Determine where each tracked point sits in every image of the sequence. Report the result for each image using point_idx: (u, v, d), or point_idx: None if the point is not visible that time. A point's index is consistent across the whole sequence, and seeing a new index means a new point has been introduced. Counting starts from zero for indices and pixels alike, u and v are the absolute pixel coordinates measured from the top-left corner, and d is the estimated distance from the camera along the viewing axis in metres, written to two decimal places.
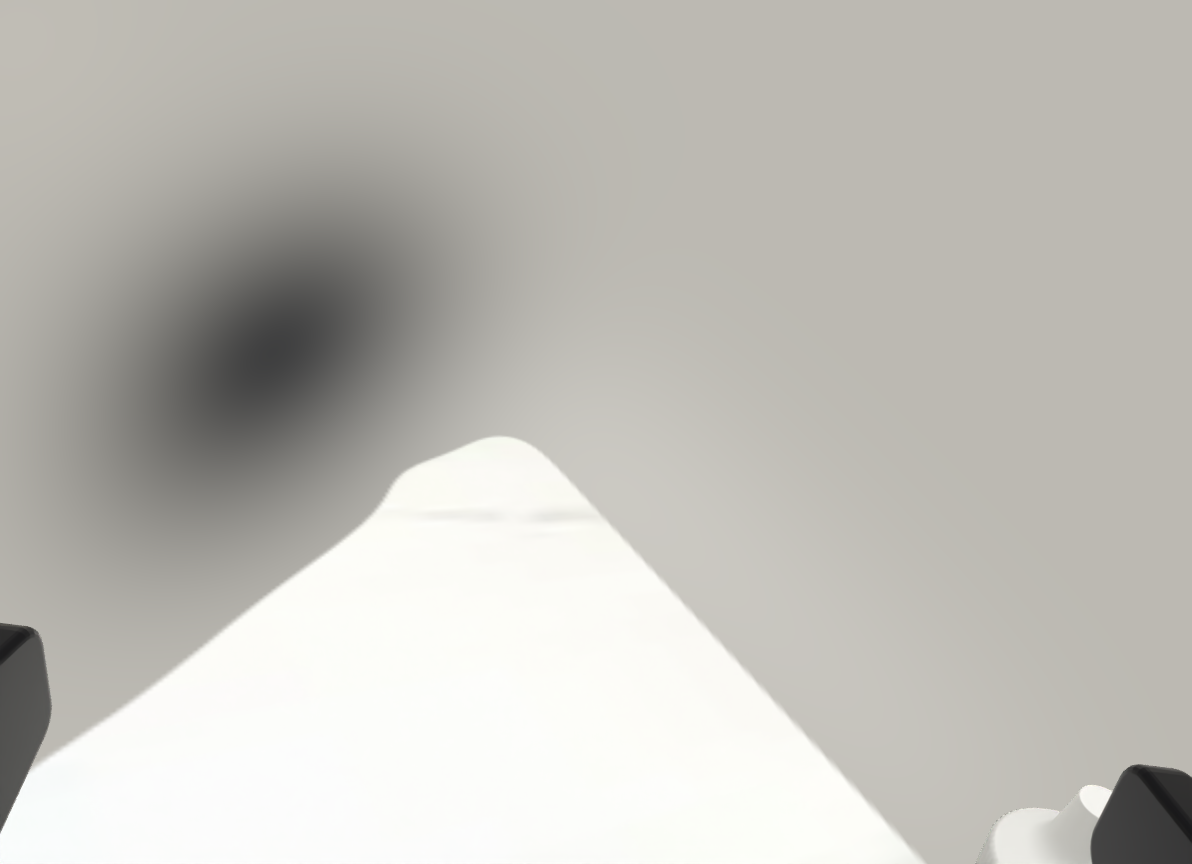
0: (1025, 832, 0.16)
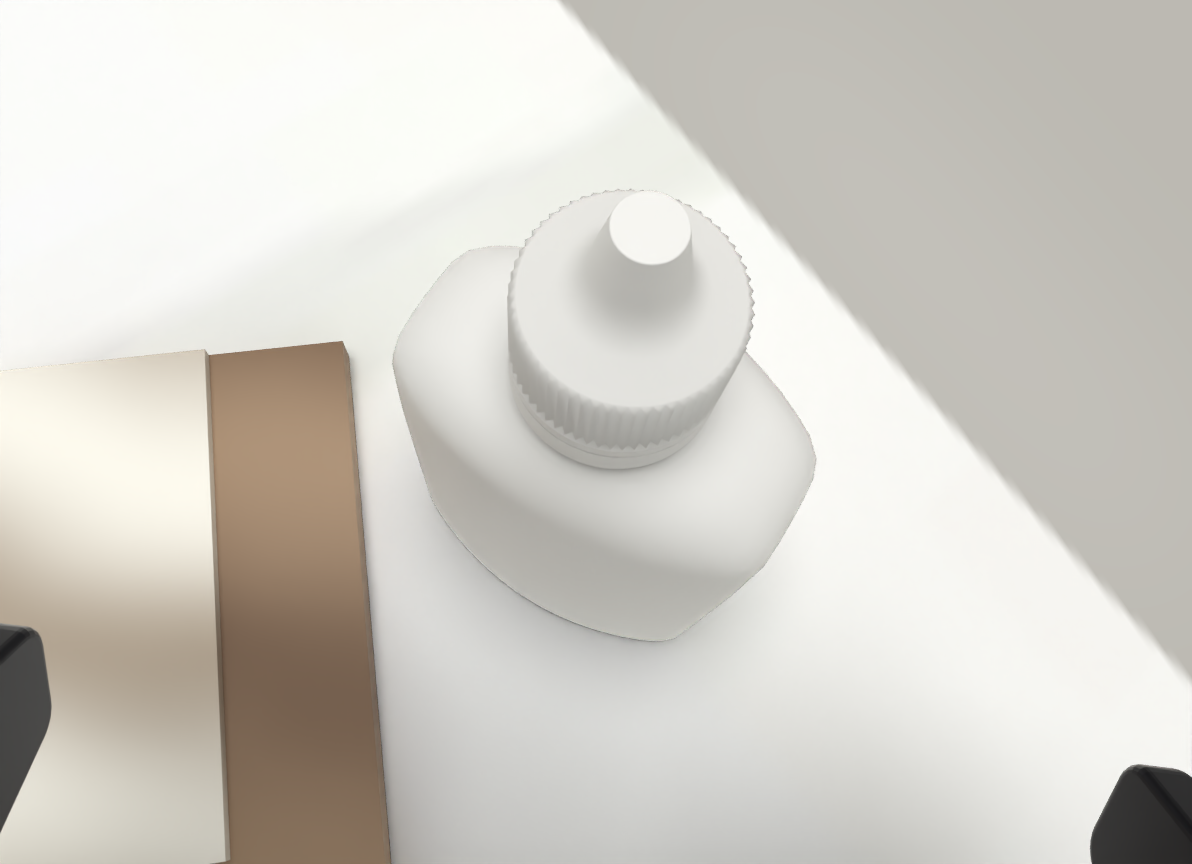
0: (561, 255, 0.10)
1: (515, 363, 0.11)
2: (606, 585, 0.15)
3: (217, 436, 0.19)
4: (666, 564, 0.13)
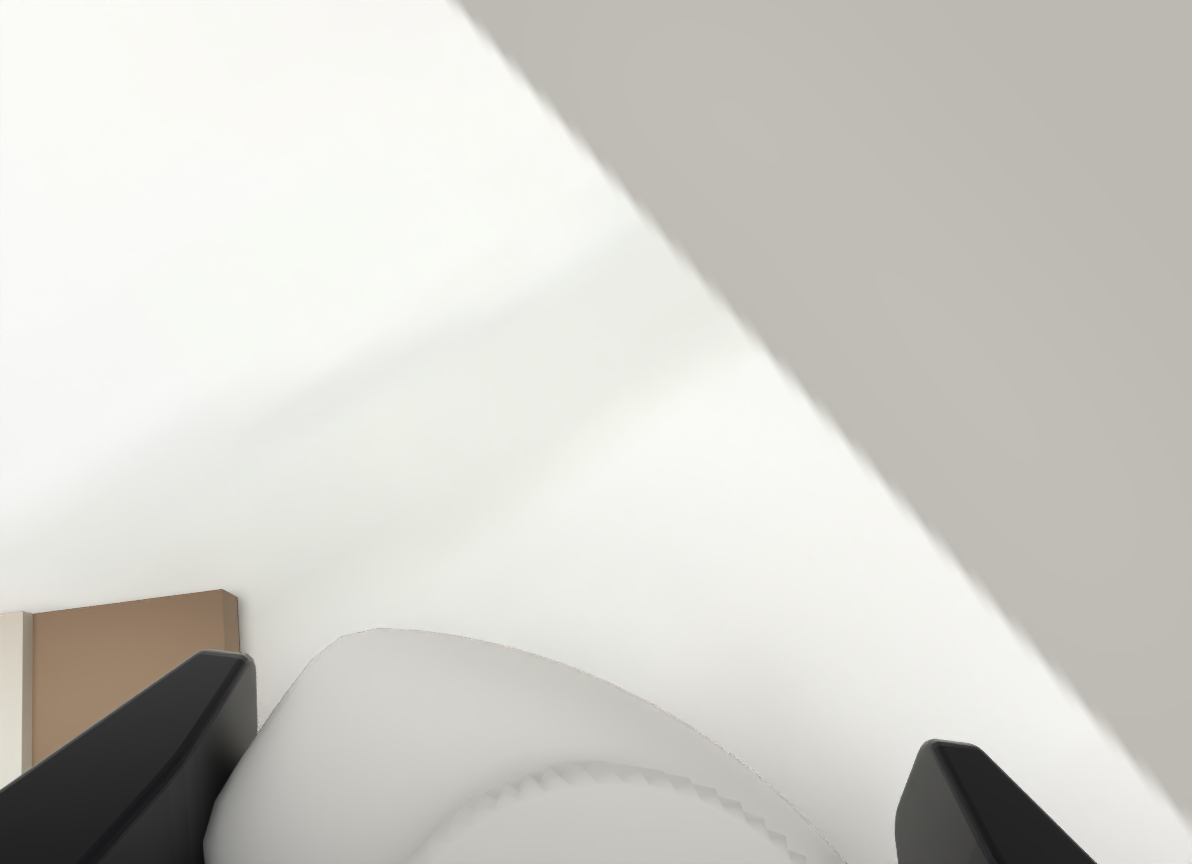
0: None
1: None
2: None
3: (39, 736, 0.14)
4: None
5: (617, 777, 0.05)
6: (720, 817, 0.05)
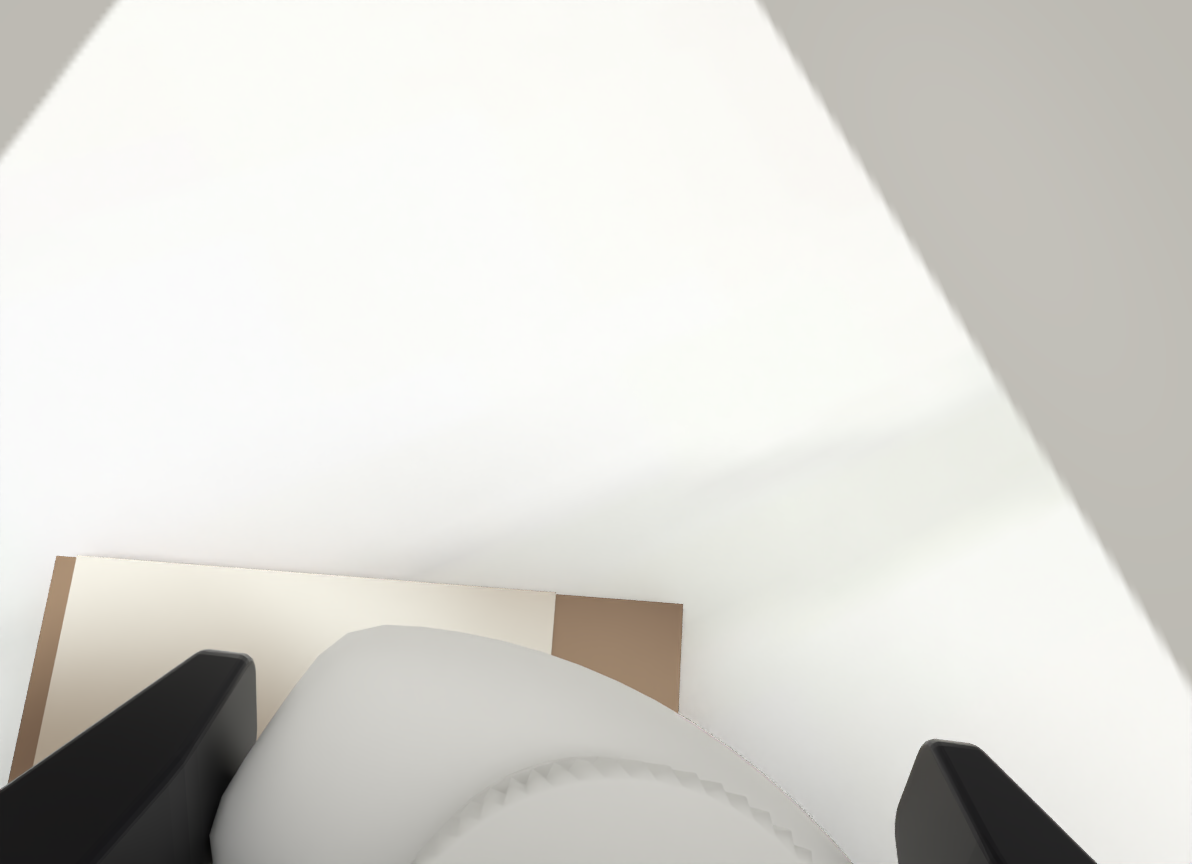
0: None
1: None
2: None
3: None
4: None
5: (625, 771, 0.05)
6: (727, 811, 0.05)
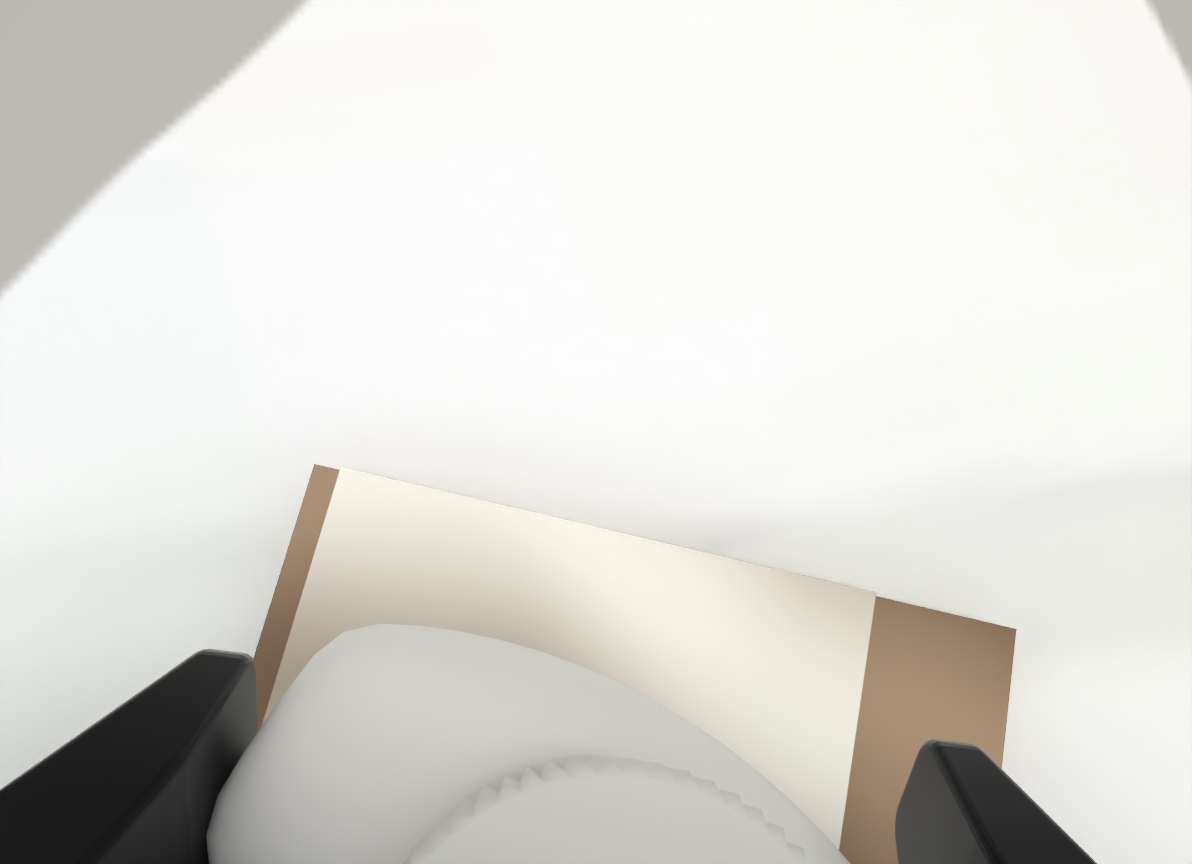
0: None
1: None
2: None
3: None
4: None
5: (617, 769, 0.05)
6: (719, 809, 0.05)
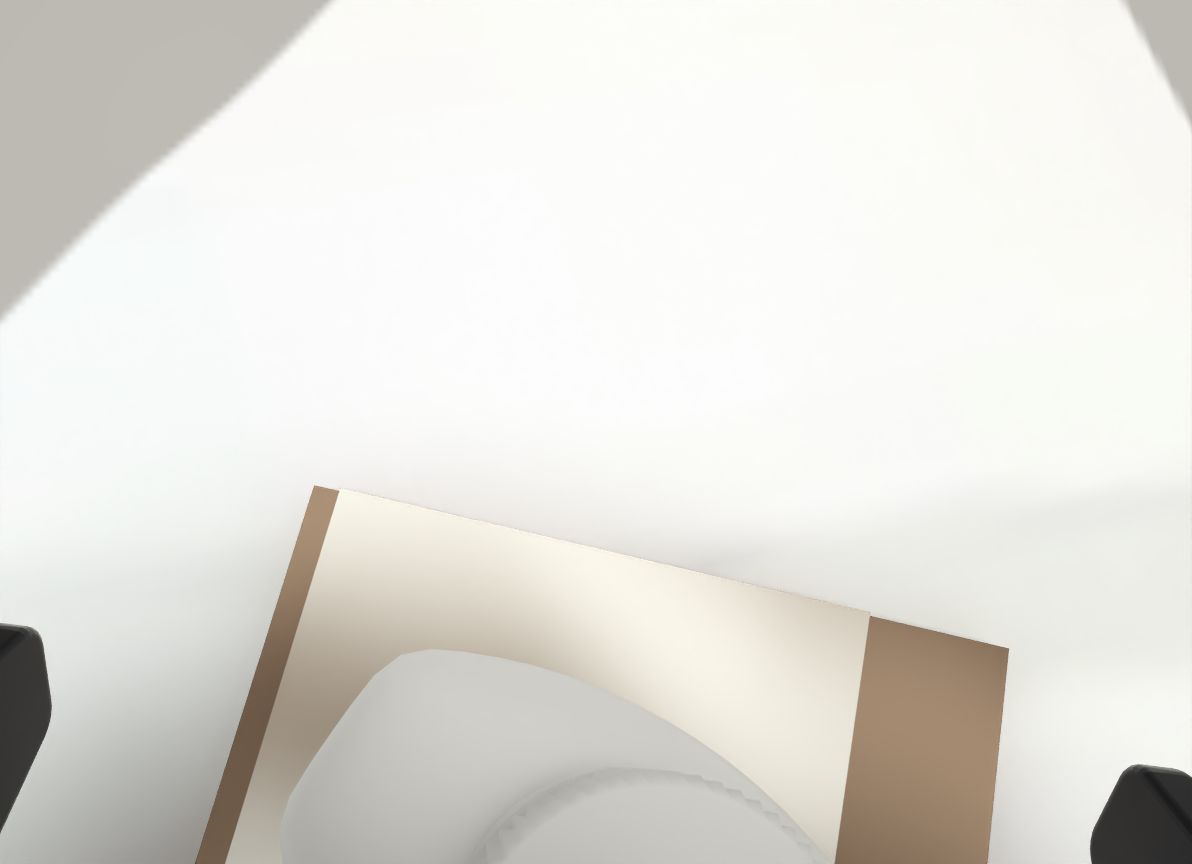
0: None
1: None
2: None
3: None
4: None
5: (667, 779, 0.06)
6: (746, 812, 0.06)
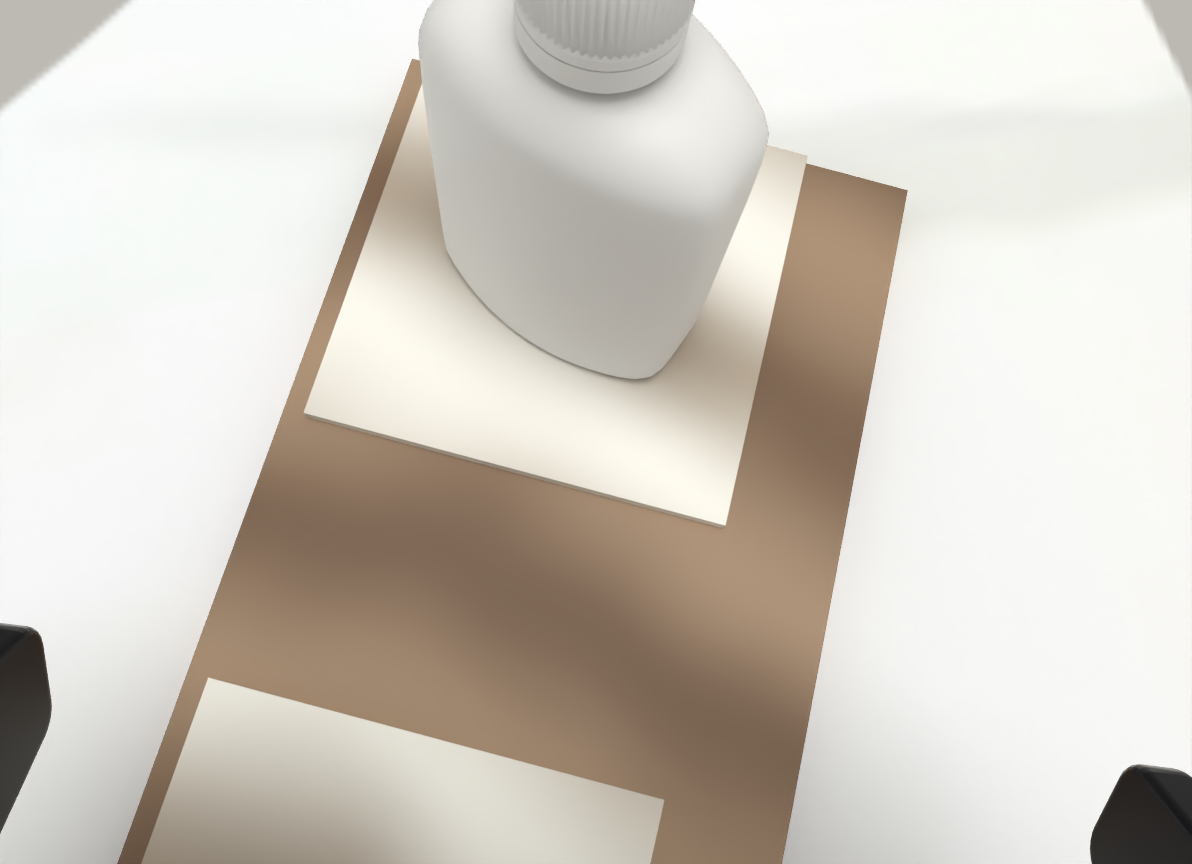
0: None
1: None
2: (589, 257, 0.17)
3: (794, 224, 0.24)
4: (637, 199, 0.15)
5: None
6: None
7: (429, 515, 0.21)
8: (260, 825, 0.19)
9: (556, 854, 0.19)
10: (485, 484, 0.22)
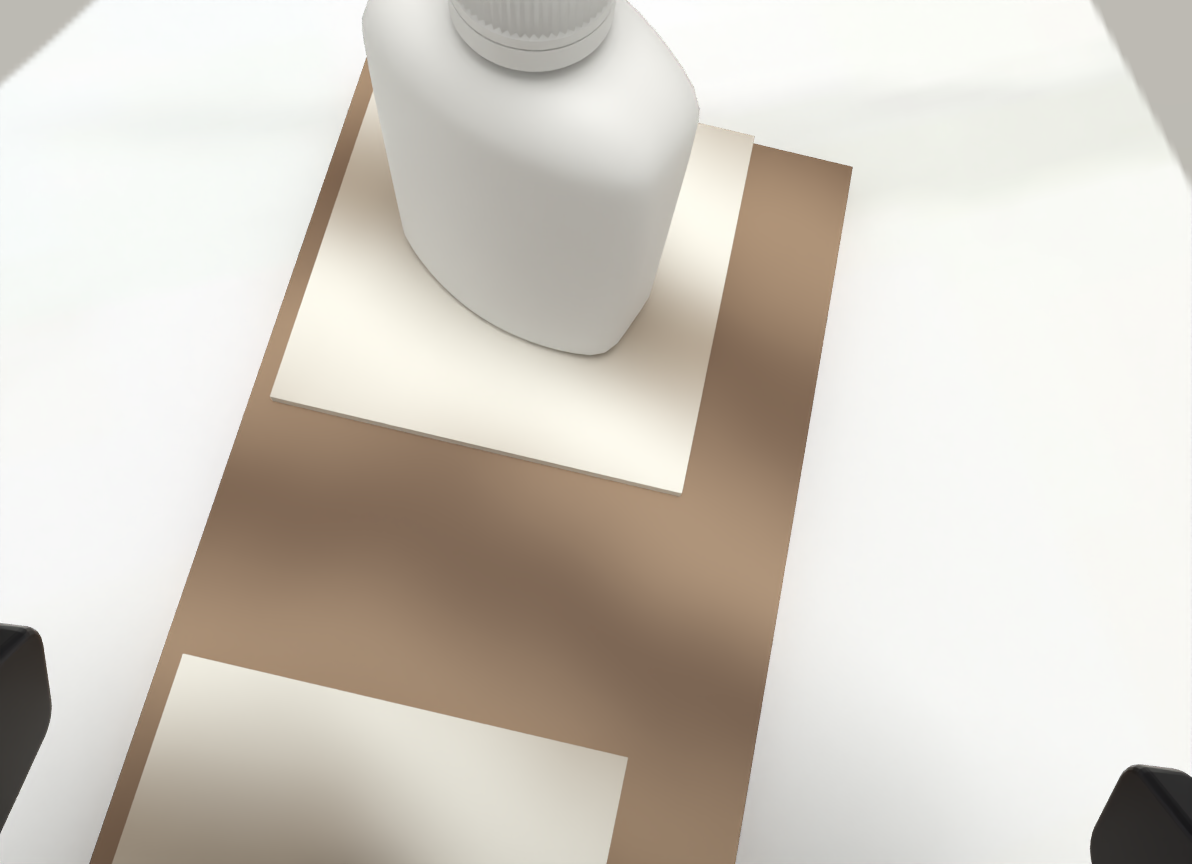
0: None
1: None
2: (534, 233, 0.18)
3: (743, 202, 0.25)
4: (573, 173, 0.16)
5: None
6: None
7: (394, 492, 0.22)
8: (237, 793, 0.20)
9: (525, 813, 0.20)
10: (448, 460, 0.22)
